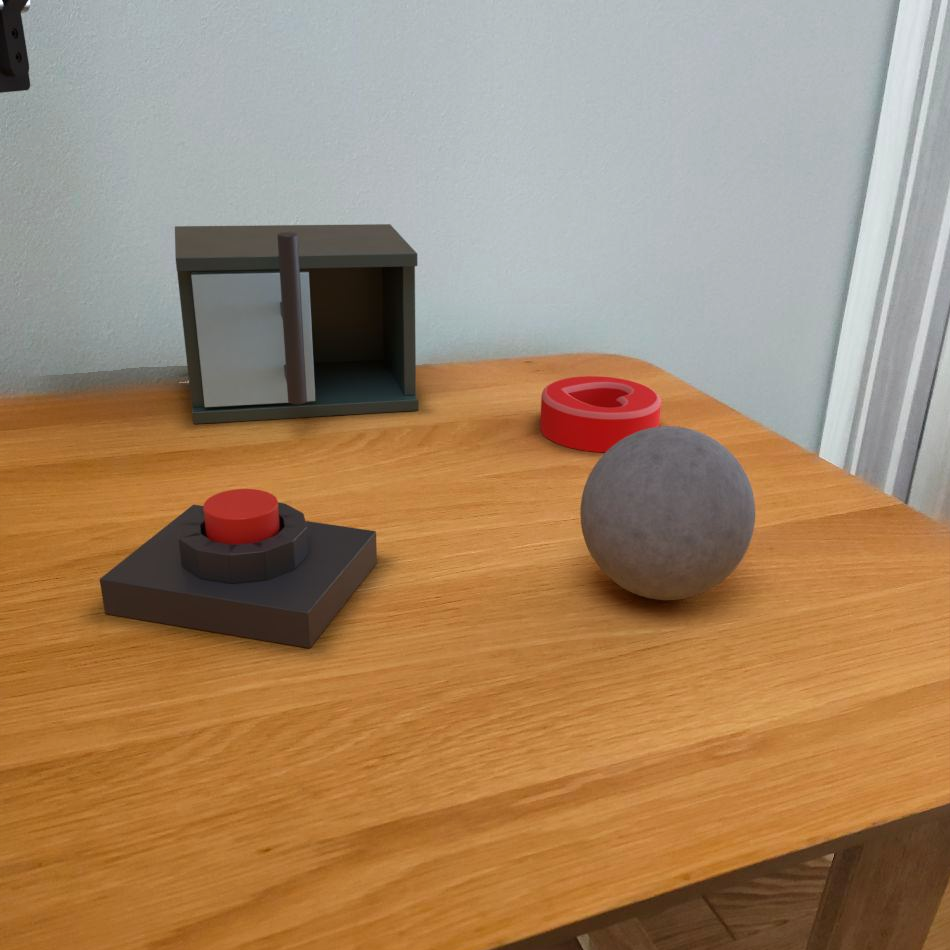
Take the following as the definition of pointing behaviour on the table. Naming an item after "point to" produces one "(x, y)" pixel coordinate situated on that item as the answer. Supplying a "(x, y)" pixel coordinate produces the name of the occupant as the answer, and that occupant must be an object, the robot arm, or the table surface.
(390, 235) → the cabinet
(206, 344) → the glass door
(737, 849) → the table surface
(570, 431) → the decorative ornament
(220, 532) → the button
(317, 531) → the button box
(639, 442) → the decorative ball
